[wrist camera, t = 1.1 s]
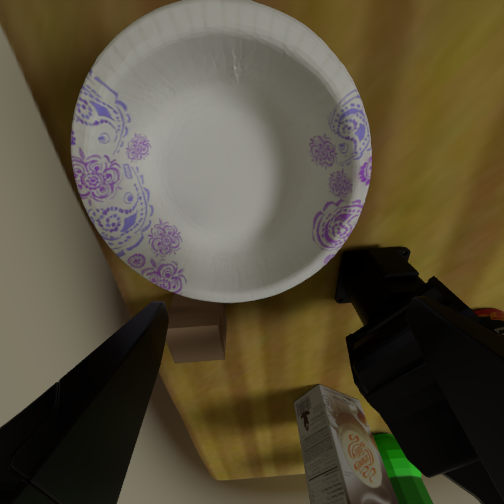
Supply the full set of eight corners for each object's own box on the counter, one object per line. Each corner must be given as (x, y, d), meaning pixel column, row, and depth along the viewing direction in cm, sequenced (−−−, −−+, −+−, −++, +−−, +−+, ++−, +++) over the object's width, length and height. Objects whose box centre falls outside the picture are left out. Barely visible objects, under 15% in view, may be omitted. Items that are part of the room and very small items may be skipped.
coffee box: (360, 398, 39) (425, 560, 25) (333, 416, 41) (377, 570, 28) (317, 382, 36) (364, 555, 22) (291, 402, 39) (317, 567, 25)
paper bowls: (349, 205, 21) (399, 254, 15) (201, 270, 24) (185, 334, 18) (286, -20, 14) (328, -134, 7) (84, 113, 17) (-19, 121, 10)
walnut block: (227, 320, 28) (224, 359, 24) (184, 324, 28) (174, 363, 24) (221, 288, 26) (217, 325, 22) (174, 291, 26) (161, 329, 22)
